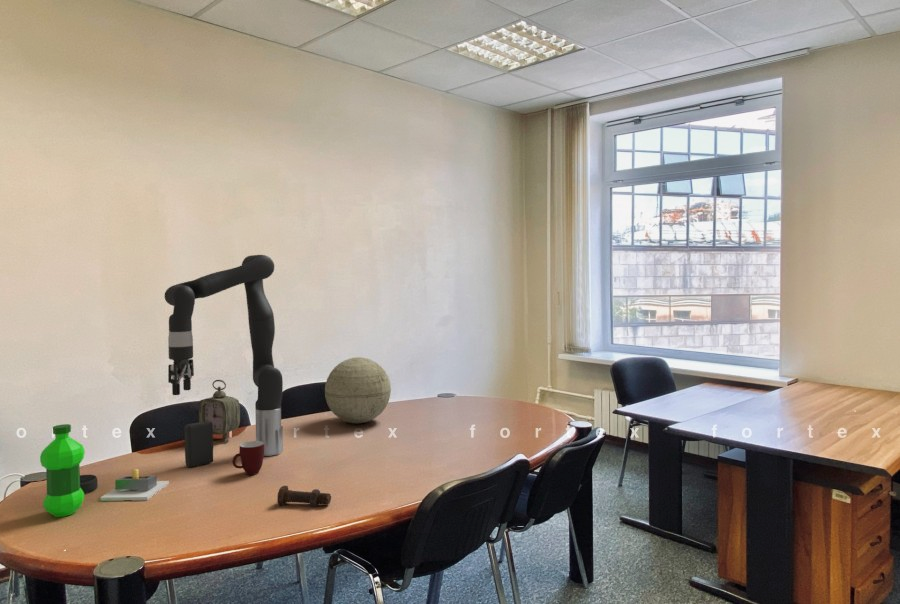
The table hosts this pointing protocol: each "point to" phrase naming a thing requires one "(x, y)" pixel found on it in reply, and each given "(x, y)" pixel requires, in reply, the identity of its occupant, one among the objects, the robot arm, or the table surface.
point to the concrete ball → (357, 390)
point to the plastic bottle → (62, 473)
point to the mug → (250, 456)
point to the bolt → (302, 497)
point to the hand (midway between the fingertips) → (181, 392)
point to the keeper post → (133, 491)
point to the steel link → (135, 482)
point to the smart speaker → (88, 483)
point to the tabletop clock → (220, 412)
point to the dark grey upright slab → (198, 443)
